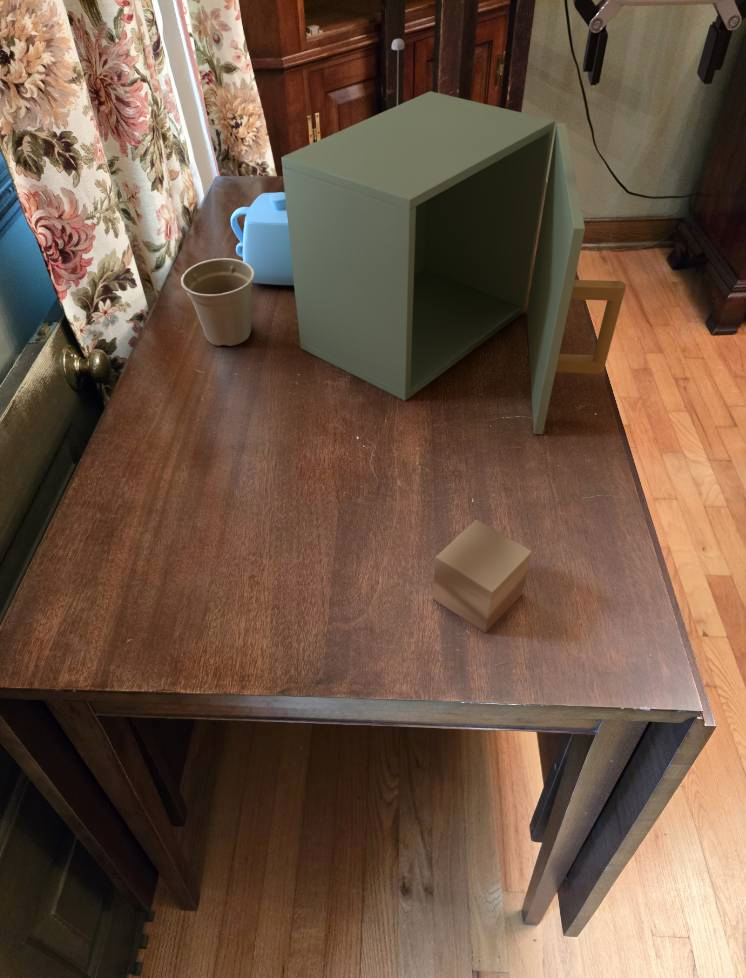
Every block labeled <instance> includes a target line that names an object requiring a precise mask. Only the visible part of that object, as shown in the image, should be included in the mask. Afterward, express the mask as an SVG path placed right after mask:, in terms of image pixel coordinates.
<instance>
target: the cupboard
mask: <svg viewBox="0 0 746 978" xmlns="http://www.w3.org/2000/svg"><path fill="white" fill-rule="evenodd" d="M555 127H556V120H554V119H551V118H545V117H542V116H538V115H533V114H529V113H525V112H521V111H516V110H512V109H507V108H503V107H499V106H495V105H490V104H486V103H481V102H477V101H473V100H469V99H466V98H460V97H456V96H452V95H448V94H443V93H439V92H435V91H428V92H427V91H426V92H425V93H423V94H421V95H419V96H417V97H414V98H412V99H409V100H407V101H405V102H403V103H400V104H398V106H397V105H396V106H394V107H392V108H389V109H387V110H385V111H382V112H380V113H378V114H375V115H373V116H371V117H369V118H366V119H364V120H362V121H360V122H358V123H355V124H353V125H351V126H349V127H346V128H344V129H342V130H340V131H337V132H335V133H333V134H331V135H328V136H326V137H324V138H322V139H319V140H317V141H315V142H313V143H312V142H311V143H310V144H307V145H306V146H303V147H301V148H299V149H297V150H294V151H292V152H290V153H288V154H285V155H283V156H281V166H282V167H281V168H282V177H283V187H284V193H285V199H286V209H287V219H288V229H289V239H290V249H291V259H292V269H293V279H294V285H293V287H294V297H295V307H296V308H295V309H296V316H297V327H298V336H299V347H300V349H301V350H304V351H305V352H307V353H310V354H312V355H313V356H315V357H317V358H319V359H321V360H323V361H325V362H326V363H328V364H331V365H333V366H335V367H337V368H339V369H341V370H343V371H345V372H347V373H349V374H351V375H353V376H355V377H357V378H358V379H361V380H363V381H364V382H366V383H369V384H371V385H373V386H374V387H377V388H378V389H381V390H383V391H385V392H386V393H389V394H390V395H393V396H395V397H396V398H398V399H400V400H403V401H404V402H405V401H407V400H408V399H411V397H412V396H414V395H415V394H416V393H418V392H419V391H420V390H422V389H423V388H425V387H426V386H427V385H428V384H430V383H432V382H433V381H434V380H435V379H436V378H438V377H439V376H441V375H442V374H443V373H445V372H446V371H447V370H449V369H450V368H452V367H453V366H454V365H455V364H457V363H458V362H459V361H461V360H462V359H463V358H465V357H466V356H467V355H469V354H470V353H471V352H473V351H475V349H477V348H479V347H480V346H481V345H482V344H484V343H485V342H486V341H488V340H489V339H490V338H492V337H493V336H494V335H495V334H497V333H498V332H499V331H501V330H503V329H504V328H505V327H506V326H508V325H509V324H511V323H512V322H514V320H516V319H517V318H519V317H520V316H521V315H523V314H524V313H525V312H526V311H527V304H528V298H529V291H530V285H531V279H532V272H533V266H534V260H535V258H534V257H535V253H536V247H537V241H538V234H539V228H540V222H541V215H542V209H543V203H544V197H545V190H546V184H547V183H546V182H547V178H548V169H549V165H550V163H549V162H550V159H551V158H550V157H551V152H552V146H553V145H552V143H553V140H554V133H555V132H554V131H555Z"/></svg>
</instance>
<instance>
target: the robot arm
mask: <svg viewBox="0 0 746 978" xmlns="http://www.w3.org/2000/svg"><path fill="white" fill-rule="evenodd" d="M572 3H573V6H574V8H575V11H577V13H578V15H580V17H581V19H582V20H583V21H584V23H585V24H586V25H587V27H588V32H587V39H586V45H585V50H584V56H583V62H582V72H583V73H587V78H588V82H589V85H590V86H597V85H599V84H600V82H601V76H602V70H603V65H604V60H605V55H606V51H607V46H608V45H607V44H608V39H609V34H608V33H609V32H608V31H607V25H608V23H610V22H611V20H612V19H613V18H614V17H615V16H616V14H617V13H618V12H619V11H620V10H621V9H622V8H623V7H624V6H626V7H627V6H628V7H629V6H630V7H632V6H633V7H646V6H647V7H648V6H649V7H650V6H651V7H652V6H658V7H659V6H691V5H693V6H695V5H712V6H713V8H714V10H715V12H716V18H715V20H714V21H712V23H711V24H709V27H708V29H707V30H708V31H707V34H706V38H705V41H704V44H703V47H702V52H701V55H700V59H699V62H698V67H697V71H696V74H697V76H698V77H699V80H700V81H701V83H703V85H712V83H713V81H714V77H715V73H716V71H721V70H722V68H723V66H724V63H725V59H726V56H727V52H728V49H729V45H730V42H731V38H732V36H733V31H735V30H736V29H738V28H739V27H740V26H741V24H742V21H744V20H745V19H746V0H598V1H597V2H594V0H572Z"/></svg>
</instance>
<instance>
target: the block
mask: <svg viewBox="0 0 746 978" xmlns="http://www.w3.org/2000/svg"><path fill="white" fill-rule="evenodd" d="M532 554H533V551H532V549H531V550H530V549H529V548H527V547H525V546H524V545H522V544H520V543H519V542H517V541H515V540H514V539H512V538H510V537H508V536H506V535H505V534H503V533H501V532H499V531H498V530H496V529H494V528H493V527H491V526H489V525H487V524H485V523H484V522H482V521H480V520H478V519H475V520H474V521H472V523H470V524H469V526H467V527H466V528H465V529H464V530H463V531H462V532H460V534H458V536H456V537H455V538H454V539H453V540H452V541H451V542H450V543H449V544H448V545H447V546H446V547H445V548H444V549H443V550H442V551H440V552H439V553H438V554H437V555H436V556H435V562H434V572H433V573H434V574H433V586H432V600H434V601H435V602H437V603H439V604H440V605H441V606H443V607H444V608H446V609H448V610H449V611H451V612H452V613H454V614H455V615H457V616H458V617H460V618H462V620H464V621H466V622H467V623H469V624H470V625H472V626H474V627H475V628H476V629H478V630H479V631H481V632H483V633H484V634H486V633H488V631H489V630H490V629H491V628H492V627H493V626H494V625H495V624H496V623H497V622H498V620H500V619H501V617H502V616H503V615H504V614H505V613H506V612H507V611H508V610H509V609H510V608H511V606H513V604H515V602H516V601H517V600H518V599H519V598H520V597H521V596H522V595H523V593H524V590H525V585H526V581H527V576H528V573H529V572H528V571H529V567H530V564H531V559H532V556H533V555H532Z"/></svg>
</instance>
